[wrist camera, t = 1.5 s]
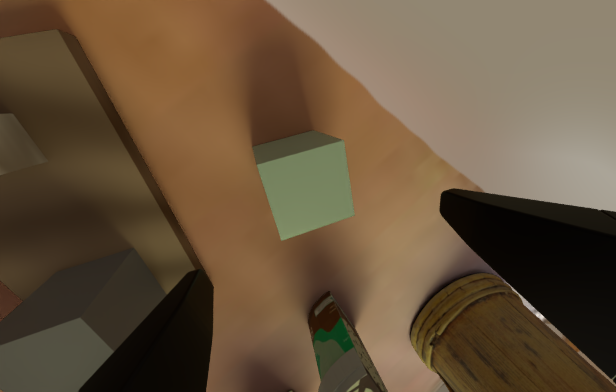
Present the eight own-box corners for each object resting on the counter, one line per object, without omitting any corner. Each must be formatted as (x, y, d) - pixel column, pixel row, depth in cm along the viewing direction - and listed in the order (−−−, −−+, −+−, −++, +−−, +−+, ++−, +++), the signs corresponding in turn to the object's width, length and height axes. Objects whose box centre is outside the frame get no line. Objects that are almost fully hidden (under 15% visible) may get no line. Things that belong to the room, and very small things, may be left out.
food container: (281, 310, 27) (300, 413, 18) (324, 283, 27) (364, 371, 18) (323, 356, 32) (354, 452, 23) (358, 333, 32) (402, 419, 24)
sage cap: (324, 186, 22) (354, 215, 16) (270, 203, 21) (281, 240, 15) (313, 130, 20) (343, 140, 14) (252, 146, 19) (256, 164, 13)
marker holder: (213, 287, 23) (203, 355, 17) (86, 333, 21) (21, 430, 15) (75, 36, 14) (-67, -23, 7) (-175, 78, 12) (-654, 45, 5)
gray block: (167, 295, 20) (136, 373, 14) (100, 319, 19) (37, 413, 13) (134, 247, 18) (80, 317, 12) (56, 272, 17) (-45, 361, 11)
